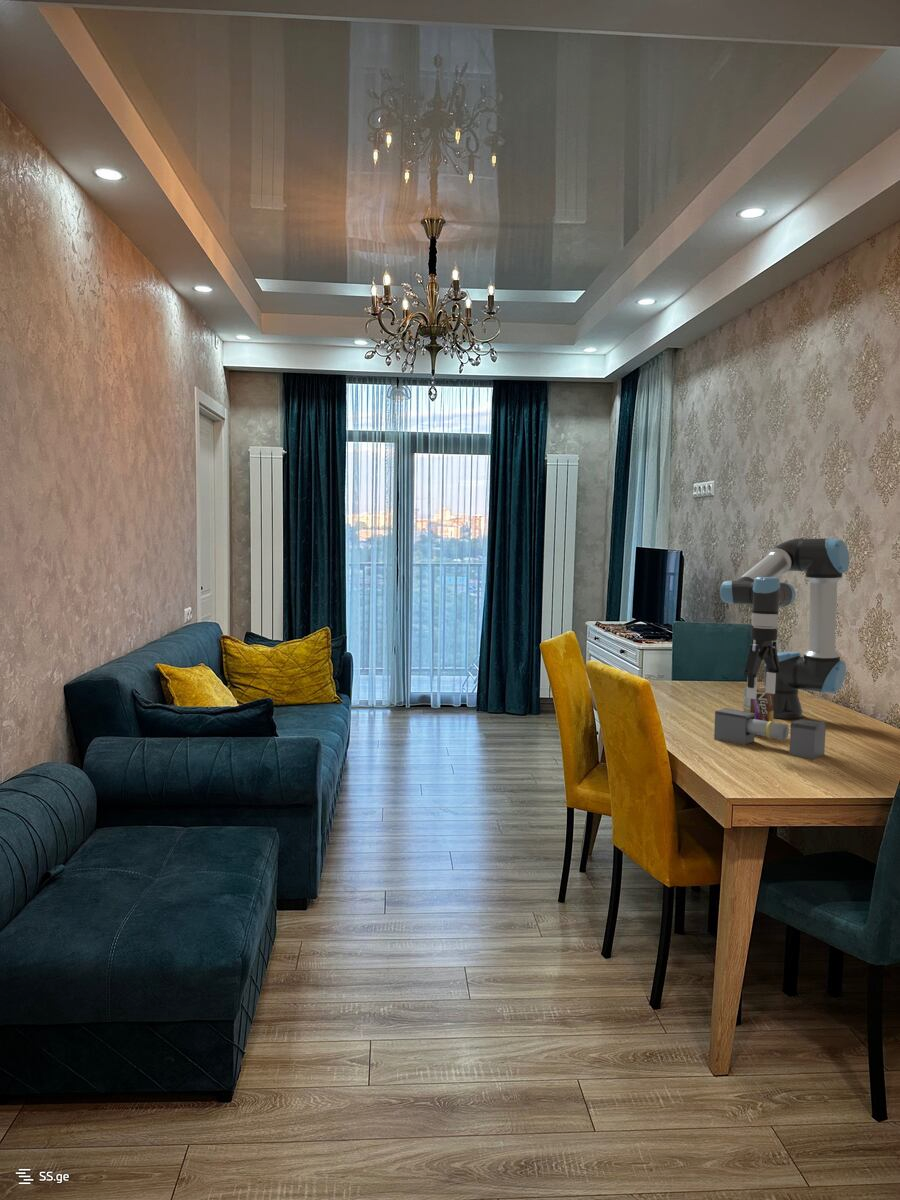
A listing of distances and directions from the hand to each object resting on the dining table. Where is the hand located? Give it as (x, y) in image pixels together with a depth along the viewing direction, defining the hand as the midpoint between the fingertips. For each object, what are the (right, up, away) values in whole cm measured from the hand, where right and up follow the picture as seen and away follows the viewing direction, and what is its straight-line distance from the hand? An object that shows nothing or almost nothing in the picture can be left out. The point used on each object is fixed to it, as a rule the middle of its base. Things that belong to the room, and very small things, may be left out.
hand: (760, 695), depth 244 cm
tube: (-2, -12, +2) cm, 13 cm away
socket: (+10, -16, -9) cm, 21 cm away
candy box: (+5, -15, +17) cm, 23 cm away
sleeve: (-6, -15, +7) cm, 17 cm away
